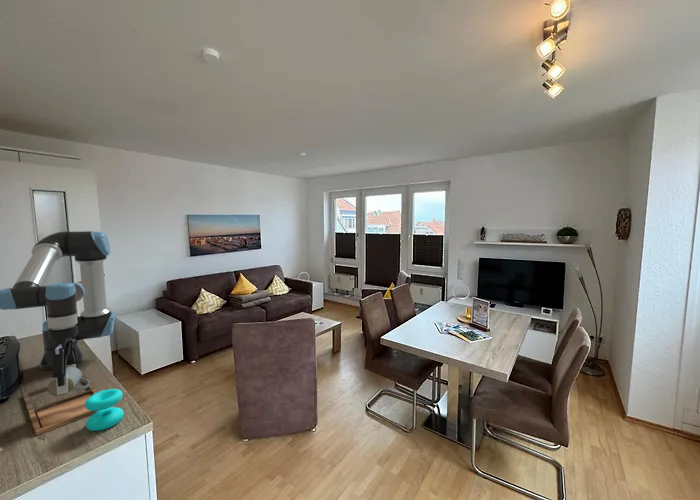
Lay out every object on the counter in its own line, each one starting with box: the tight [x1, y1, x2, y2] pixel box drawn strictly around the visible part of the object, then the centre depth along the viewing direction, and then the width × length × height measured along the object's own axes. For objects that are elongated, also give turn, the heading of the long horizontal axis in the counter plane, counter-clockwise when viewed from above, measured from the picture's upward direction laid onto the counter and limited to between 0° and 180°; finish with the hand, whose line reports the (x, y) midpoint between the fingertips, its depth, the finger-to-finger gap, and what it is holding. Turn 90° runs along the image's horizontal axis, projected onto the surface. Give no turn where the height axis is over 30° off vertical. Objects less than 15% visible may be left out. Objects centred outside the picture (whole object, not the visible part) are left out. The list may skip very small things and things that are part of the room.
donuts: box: [85, 388, 125, 432], centre depth 101 cm, size 10×10×10 cm
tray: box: [22, 374, 99, 436], centre depth 113 cm, size 35×18×1 cm, turn 53°
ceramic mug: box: [46, 367, 91, 397], centre depth 107 cm, size 11×8×8 cm
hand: (67, 387), depth 107 cm, fingers closed on ceramic mug, 8 cm apart
